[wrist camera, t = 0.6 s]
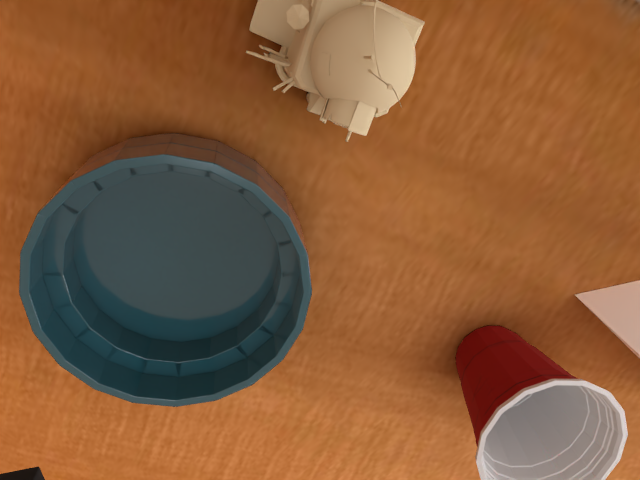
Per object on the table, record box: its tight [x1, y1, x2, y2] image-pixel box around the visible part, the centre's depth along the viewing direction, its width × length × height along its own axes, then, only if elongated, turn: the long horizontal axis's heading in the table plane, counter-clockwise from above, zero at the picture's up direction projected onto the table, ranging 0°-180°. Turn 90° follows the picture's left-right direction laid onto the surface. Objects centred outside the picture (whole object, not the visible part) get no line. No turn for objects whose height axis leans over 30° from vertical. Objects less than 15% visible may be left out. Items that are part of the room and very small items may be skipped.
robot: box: [246, 0, 424, 142], centre depth 31 cm, size 10×8×15 cm
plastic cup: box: [456, 326, 628, 480], centre depth 44 cm, size 11×11×12 cm
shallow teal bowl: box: [19, 133, 312, 407], centre depth 40 cm, size 18×18×6 cm
